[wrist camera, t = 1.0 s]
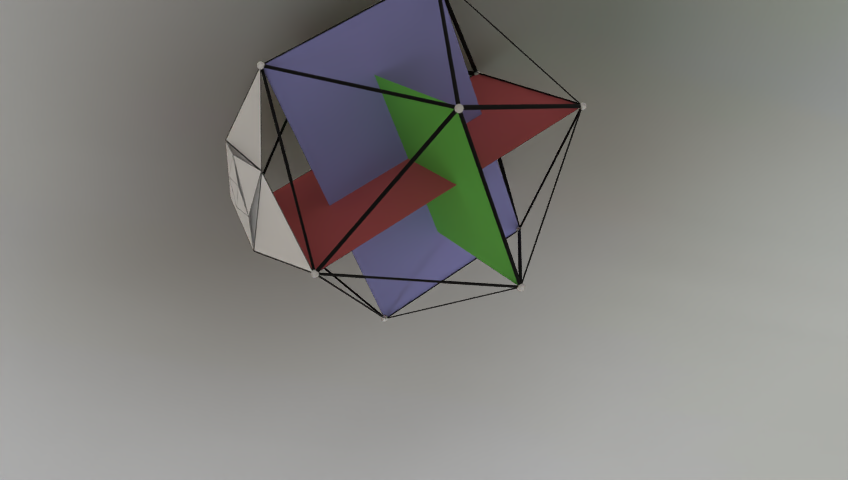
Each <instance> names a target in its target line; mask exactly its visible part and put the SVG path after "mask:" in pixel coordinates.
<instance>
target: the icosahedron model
mask: <svg viewBox="0 0 848 480" xmlns="http://www.w3.org/2000/svg"><path fill="white" fill-rule="evenodd" d="M464 1H466V0H464ZM466 2H467V1H466ZM467 3H468V2H467ZM468 4H469V3H468ZM469 5H470V4H469ZM470 6H471V7H472V8H473V9H474V10H476V9H475V8H474V7H473V6H472V5H470ZM447 9H448V10H447ZM448 11H449V13H448ZM476 11H477V10H476ZM477 12H478V11H477ZM478 13H479V12H478ZM449 14H450V16H451V19H452V21H453V23H454V26H455V28H456V30H457V33H458V35H459V38H460V40H461V42H462V45H463V47H464V49H465V52H466V54H467V57H468V59H469V61H470V64H471V66H472V68H473V71H474V72H472V71H467V68H466V65H465V62H464V59H463V56H462V53H461V50H460V47H459V43H458V40H457V37H456V34H455V31H454V28H453V25H452V22H451V19H450V16H449ZM479 14H480V13H479ZM480 15H481V16H482V17H483V18H484V19H486V18H485V17H484V16H483V15H482V14H480ZM486 20H487V19H486ZM487 21H488V20H487ZM488 22H489V21H488ZM489 23H490V22H489ZM490 24H491V25H492V26H493V27H494V28H496V27H495V26H494V25H493V24H492V23H490ZM496 29H497V28H496ZM497 30H498V29H497ZM498 31H499V30H498ZM499 32H500V31H499ZM500 33H501V34H502V35H503V36H504V37H506V36H505V35H504V34H503V33H502V32H500ZM506 38H507V37H506ZM507 39H508V38H507ZM508 40H509V39H508ZM509 41H510V40H509ZM510 42H511V43H512V44H513V45H514V46H516V45H515V44H514V43H513V42H512V41H510ZM516 47H517V46H516ZM517 48H518V47H517ZM518 49H519V48H518ZM519 50H520V49H519ZM520 51H521V52H522V53H523V54H524V55H525V56H527V55H526V54H525V53H524V52H523V51H522V50H520ZM527 57H528V56H527ZM528 58H529V57H528ZM529 59H530V58H529ZM530 60H531V61H532V62H533V63H534V64H535V65H537V64H536V63H535V62H534V61H533V60H532V59H530ZM537 66H538V65H537ZM538 67H539V66H538ZM257 68H258V72H257V74H256V76H255V78H254V80H253V82H252V84H251V87H250V89H249V91H248V93H247V95H246V97H245V99H244V101H243V104H242V106H241V108H240V110H239V112H238V114H237V116H236V118H235V121H234V123H233V125H232V127H231V129H230V131H229V133H228V136H227V138H226V151H227V163H228V175H229V186H230V198H231V200H232V202H233V204H234V207H235V209H236V211H237V214H238V216H239V218H240V221H241V223H242V225H243V228H244V230H245V232H246V234H247V237H248V239H249V241H250V244H251V246H252V248H253V251H254V252H257V253H259V254H262V255H265V256H267V257H270V258H273V259H275V260H278V261H281V262H283V263H286V264H289V265H291V266H294V267H297V268H299V269H302V270H305V271H307V272H310V273H311V276H312V277H313V278H317V277H320V278H321V279H323V280H324V281H326V282H328V283H329V284H331V285H332V286H334V287H335V288H337V289H339V290H340V291H342V292H343V293H345V294H346V295H348V296H350V297H351V298H353V299H354V300H356V301H357V302H359V303H361V304H362V305H364V306H365V307H367V308H368V309H370V310H371V311H373V312H375V313H376V314H378V315H379V316H381V320H382V321H384V322H386V321H387V320H388V318H391V317H390V316H391V315H393V314H394V313H396V312H397V311H399V310H400V309H402V308H403V307H405V306H406V305H408V304H409V303H411V302H412V301H414V300H415V299H417V298H418V297H420V296H421V295H423V294H424V293H426V292H427V291H429V290H430V289H432V288H433V287H435V286H436V285H438V284H439V283H448V284H464V285H479V286H495V287H510V288H512V289H518V290H519V291H524V289H525V286H524V284H522V283H523V280H524V277H525V274H526V271H527V269H528V266H529V263H530V260H531V257H532V254H533V251H534V248H535V245H536V242H537V239H538V236H539V233H540V230H541V227H542V224H543V221H544V219H545V216H546V213H547V210H548V207H549V204H550V201H551V198H552V195H553V192H554V189H555V186H556V183H557V180H558V177H559V174H560V171H561V169H562V166H563V163H564V160H565V157H566V154H567V151H568V148H569V145H570V142H571V139H572V136H573V133H574V130H575V127H576V124H577V121H578V119H579V116H580V113H581V110H585V109H586V107H587V106H586V104H585V103H579V102H578V101H577V100H576V99H575V98H574V97H573V96H571V95H570V94H569V93H568V92H567V91H566V90H565V89H564V88H563V87H561V86H560V85H559V84H558V83H557V82H556V81H555V80H554V79H553V78H551V77H550V76H549V75H548V74H547V73H546V72H545V71H544V70H543V69H542V68H540V67H539V68H540V69H541V70H542V71H543V72H544V73H545V74H547V75H548V76H549V77H550V78H551V79H552V80H553V81H554V82H555V83H557V84H558V85H559V86H560V87H561V88H562V89H563V90H564V91H565V92H567V93H568V94H569V95H570V96H571V97H572V98H573V99H574V100H575V101H577V102H578V103H577V102H574V101H571V100H567V99H564V98H561V97H557V96H554V95H551V94H547V93H544V92H541V91H538V90H534V89H531V88H528V87H524V86H521V85H518V84H514V83H511V82H508V81H504V80H501V79H498V78H495V77H491V76H488V75H485V74H481V73H480V72H479V71H477V69H476V66H475V64H474V62H473V59H472V57H471V54H470V52H469V49H468V47H467V45H466V42H465V40H464V37H463V35H462V32H461V30H460V28H459V25H458V23H457V20H456V18H455V15H454V13H453V11H452V8H451V6H450V3H449V1H448V0H382V1H381V2H379V3H377V4H375V5H373V6H371V7H369V8H367V9H365V10H364V11H362V12H360V13H358V14H356V15H354V16H352V17H350V18H348V19H347V20H345V21H343V22H341V23H339V24H337V25H335V26H333V27H331V28H329V29H328V30H326V31H324V32H322V33H320V34H318V35H316V36H314V37H312V38H311V39H309V40H307V41H305V42H303V43H301V44H299V45H297V46H295V47H294V48H292V49H290V50H288V51H286V52H284V53H282V54H280V55H278V56H277V57H275V58H273V59H271V60H269V61H267V62H265V63H264V62H262V61H259V62H258V63H257ZM261 72H262V76H263V80H264V84H265V88H266V91H267V95H268V99H269V103H270V107H271V111H272V115H273V119H274V123H275V126H276V130H277V134H278V138H277V141H276V143H275V145H274V148H273V150H272V152H271V155H270V157H269V159H268V162H267V164H266V166H265V169H264V171H263V172H262V145H261ZM265 75H266V76H265ZM469 75H472V76H471V77H469ZM266 77H267V79H268V81H269V83H270V85H271V87H272V89H273V91H274V93H275V95H276V97H277V99H278V101H279V103H280V106H281V108H282V110H283V112H284V114H285V116H286V120H285V122H284V124H283V127H282V129H281V131H280V130H279V126H278V122H277V119H276V115H275V111H274V107H273V103H272V99H271V95H270V91H269V88H268V84H267V80H266ZM578 108H580V109H579V111H578V113H577V115H576V117H575V119H574V121H573V123H572V125H571V127H570V128H569V130H568V132H567V134H566V136H565V138H564V140H563V142H562V144H561V146H560V148H559V150H558V152H557V154H556V156H555V158H554V160H553V162H552V164H551V166H550V168H549V170H548V172H547V174H546V176H545V178H544V180H543V182H542V183H541V185H540V187H539V189H538V191H537V193H536V195H535V197H534V199H533V201H532V203H531V205H530V207H529V209H528V211H527V213H526V215H525V217H524V219H523V221H522V223H521V225H519V221H518V218H517V214H516V210H515V207H514V203H513V199H512V196H511V192H510V188H509V185H508V181H507V177H506V174H505V170H504V167H503V163H502V159H501V157H502V156H504V155H505V154H507V153H508V152H510V151H512V150H513V149H515V148H516V147H518V146H520V145H521V144H523V143H524V142H526V141H527V140H529V139H531V138H532V137H534V136H535V135H537V134H539V133H540V132H542V131H543V130H545V129H547V128H548V127H550V126H551V125H553V124H555V123H556V122H558V121H559V120H561V119H563V118H564V117H566V116H567V115H569V114H570V113H572V112H574V111H575V110H577V109H578ZM576 119H577V120H576ZM287 121H288V122H289V124H290V126H291V128H292V130H293V132H294V134H295V136H296V138H297V140H298V142H299V144H300V146H301V148H302V151H303V153H304V155H305V157H306V159H307V161H308V163H309V165H310V167H311V169H312V170H311V171H309V172H307V173H306V174H304V175H302V176H300V177H299V178H297V179H295V180H294V181H292V177H291V173H290V169H289V165H288V161H287V157H286V154H285V150H284V146H283V142H282V138H281V135H282V132H283V130H284V128H285V125H286V123H287ZM575 121H576V123H575ZM574 123H575V126H574V129H573V132H572V135H571V138H570V141H569V144H568V147H567V150H566V153H565V156H564V159H563V161H562V164H561V167H560V170H559V173H558V176H557V179H556V182H555V185H554V188H553V191H552V194H551V197H550V200H549V203H548V206H547V209H546V211H545V214H544V217H543V220H542V223H541V226H540V229H539V232H538V235H537V238H536V241H535V244H534V247H533V250H532V253H531V256H530V258H529V261H528V264H527V267H526V270H525V273H524V276H523V279H522V259H521V230H522V229H521V227H522V225H523V223H524V221H525V219H526V217H527V215H528V213H529V211H530V209H531V207H532V205H533V203H534V201H535V199H536V197H537V195H538V193H539V191H540V189H541V188H542V186H543V184H544V182H545V180H546V178H547V176H548V174H549V172H550V170H551V168H552V166H553V164H554V162H555V160H556V158H557V156H558V154H559V152H560V150H561V148H562V146H563V145H564V143H565V141H566V139H567V137H568V135H569V133H570V131H571V129H572V127H573V125H574ZM278 142H280V146H281V150H282V154H283V157H284V161H285V165H286V169H287V173H288V177H289V181H290V183H288V184H287V185H285V186H283V187H282V188H280V189H278V190H276V191H275V192H272V190H271V188H270V186H269V184H268V182H267V180H266V178H265V176H264V174H265V172H266V170H267V167H268V165H269V163H270V160H271V158H272V156H273V153H274V151H275V149H276V146H277V144H278ZM497 159H498V162H499V165H498V162H497ZM499 166H500V168H499ZM500 169H501V171H500ZM501 173H502V174H501ZM516 232H517V233H518V272H519V275H518V272H517V269H516V266H515V263H514V260H513V257H512V255H511V252H510V249H509V246H508V243H507V240H506V239H507V238H508V237H510V236H511V235H513V234H514V233H516ZM351 251H352V253H353V255H354V257H355V259H356V261H357V263H358V265H359V267H360V269H361V271H362V273H363V275H364V276H363V275H348V274H333V273H331V272H330V271H329V270H328V269H326V268H325V267H327V266H328V265H330V264H332V263H333V262H335V261H336V260H338V259H339V258H341V257H343V256H344V255H346V254H347V253H349V252H351ZM477 258H478V259H479V260H481V261H482V262H484V263H485V264H487V265H488V266H490V267H491V268H493V269H494V270H496V271H497V272H499V273H500V274H502V275H503V276H505V277H506V278H508V279H509V280H511V281H512V282H514V283H515V284H517V285H518V286H517V285H502V284H486V283H471V282H456V281H444V280H445V279H447V278H448V277H450V276H451V275H453V274H454V273H456V272H457V271H459V270H460V269H462V268H463V267H465V266H466V265H468V264H469V263H471V262H472V261H474V260H475V259H477ZM322 269H325V270H326V271H327V272H328V273H319V271H320V270H322ZM320 275H324V276H333V277H335V278H336V279H337V280H338V281H339V282H341V283H342V284H343V285H344V286H345V287H347V288H348V289H349V290H350V291H351V292H353V293H354V294H355V295H356V296H357V297H359V298H360V299H361V300H362V301H364V302H365V303H366V304H367V305H368V306H370V307H371V308H372V309H373V310H372V309H371V308H369V307H368V306H366V305H365V304H363V303H362V302H360V301H358V300H357V299H355V298H354V297H352V296H351V295H349V294H348V293H346V292H344V291H343V290H341V289H340V288H338V287H337V286H335V285H334V284H332V283H330V282H329V281H327V280H326V279H324V278H323V277H321V276H320ZM336 276H339V277H355V278H365V279H366V281H367V284H368V286H369V288H370V290H371V292H372V294H373V296H374V298H375V300H376V302H377V304H378V306H379V308H380V310H381V312H382V314H383V315H382V314H381V313H380V312H378V311H377V310H376V309H375V308H373V307H372V306H371V305H370V304H369V303H367V302H366V301H365V300H364V299H363V298H361V297H360V296H359V295H358V294H357V293H355V292H354V291H353V290H352V289H351V288H349V287H348V286H347V285H346V284H344V283H343V282H342V281H341V280H340V279H338V278H337V277H336ZM512 289H508V290H512ZM508 290H504V291H508ZM504 291H499V292H504ZM499 292H495V293H499ZM495 293H491V294H495ZM491 294H486V295H491ZM486 295H482V296H486ZM482 296H478V297H482ZM478 297H473V298H478ZM473 298H469V299H473ZM469 299H465V300H469ZM465 300H461V301H465ZM461 301H456V302H461ZM456 302H452V303H456ZM452 303H448V304H452ZM448 304H443V305H448ZM443 305H439V306H443ZM439 306H435V307H439ZM435 307H431V308H435ZM426 309H430V308H426ZM426 309H422V310H426ZM422 310H418V311H422ZM413 312H417V311H413ZM413 312H409V313H413ZM409 313H405V314H409ZM400 315H404V314H400ZM400 315H396V316H400ZM396 316H392V317H396Z"/></svg>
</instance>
